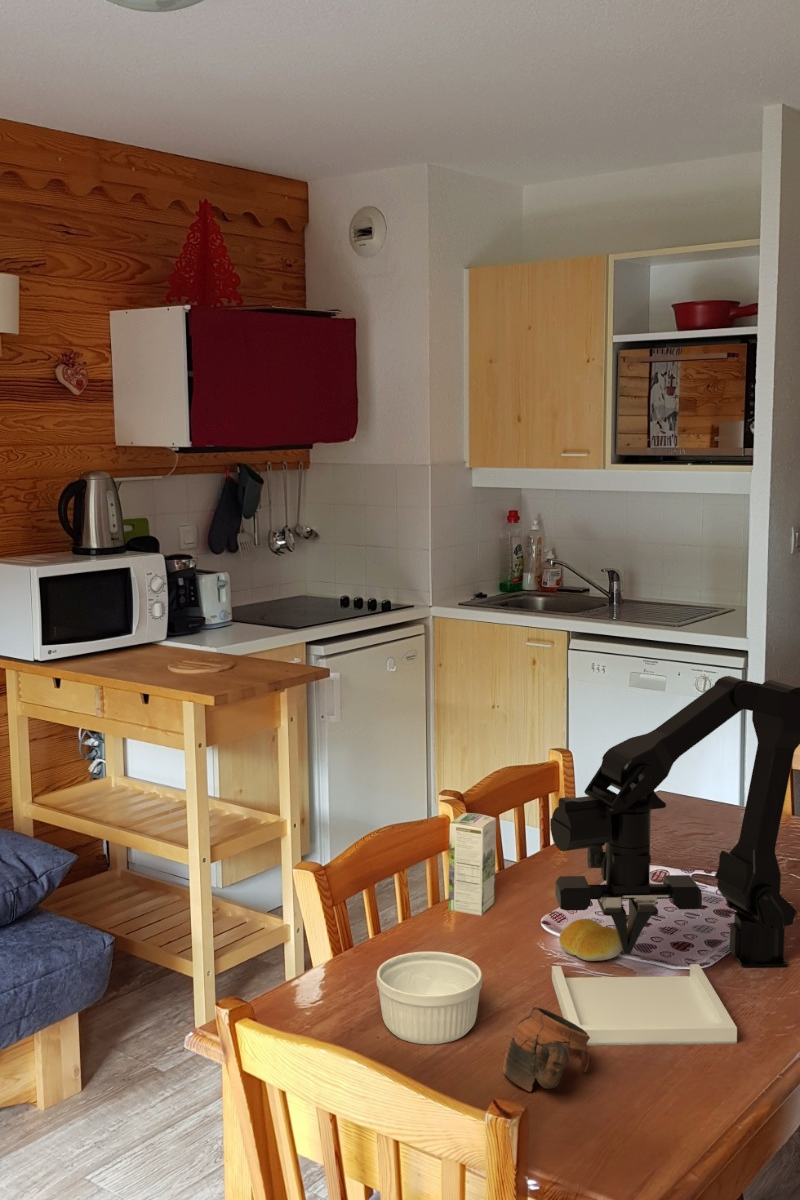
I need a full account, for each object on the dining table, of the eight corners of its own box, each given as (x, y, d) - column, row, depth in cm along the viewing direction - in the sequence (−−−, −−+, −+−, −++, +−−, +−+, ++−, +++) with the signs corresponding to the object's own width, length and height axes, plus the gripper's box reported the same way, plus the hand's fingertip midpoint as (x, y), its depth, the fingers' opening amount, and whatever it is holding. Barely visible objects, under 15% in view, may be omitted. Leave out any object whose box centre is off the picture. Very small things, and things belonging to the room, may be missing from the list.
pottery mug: (489, 1060, 142) (517, 995, 143) (559, 1092, 142) (587, 1026, 144) (511, 1092, 130) (542, 1020, 131) (588, 1126, 131) (618, 1055, 132)
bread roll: (597, 967, 165) (596, 940, 165) (550, 949, 172) (549, 923, 172) (636, 950, 170) (635, 923, 170) (589, 933, 177) (588, 907, 177)
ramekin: (457, 994, 159) (457, 944, 158) (499, 1039, 147) (500, 985, 146) (363, 1010, 155) (362, 959, 154) (398, 1059, 142) (398, 1003, 141)
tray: (698, 978, 163) (698, 964, 163) (736, 1043, 145) (737, 1028, 145) (551, 980, 163) (551, 966, 162) (571, 1045, 145) (572, 1030, 145)
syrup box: (461, 898, 192) (461, 811, 190) (496, 904, 190) (496, 815, 188) (448, 911, 187) (447, 821, 185) (483, 917, 185) (483, 826, 183)
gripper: (683, 822, 168) (681, 928, 169) (550, 823, 167) (549, 930, 169) (704, 848, 156) (701, 962, 158) (561, 849, 156) (560, 963, 158)
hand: (626, 953), depth 161 cm, fingers closed
